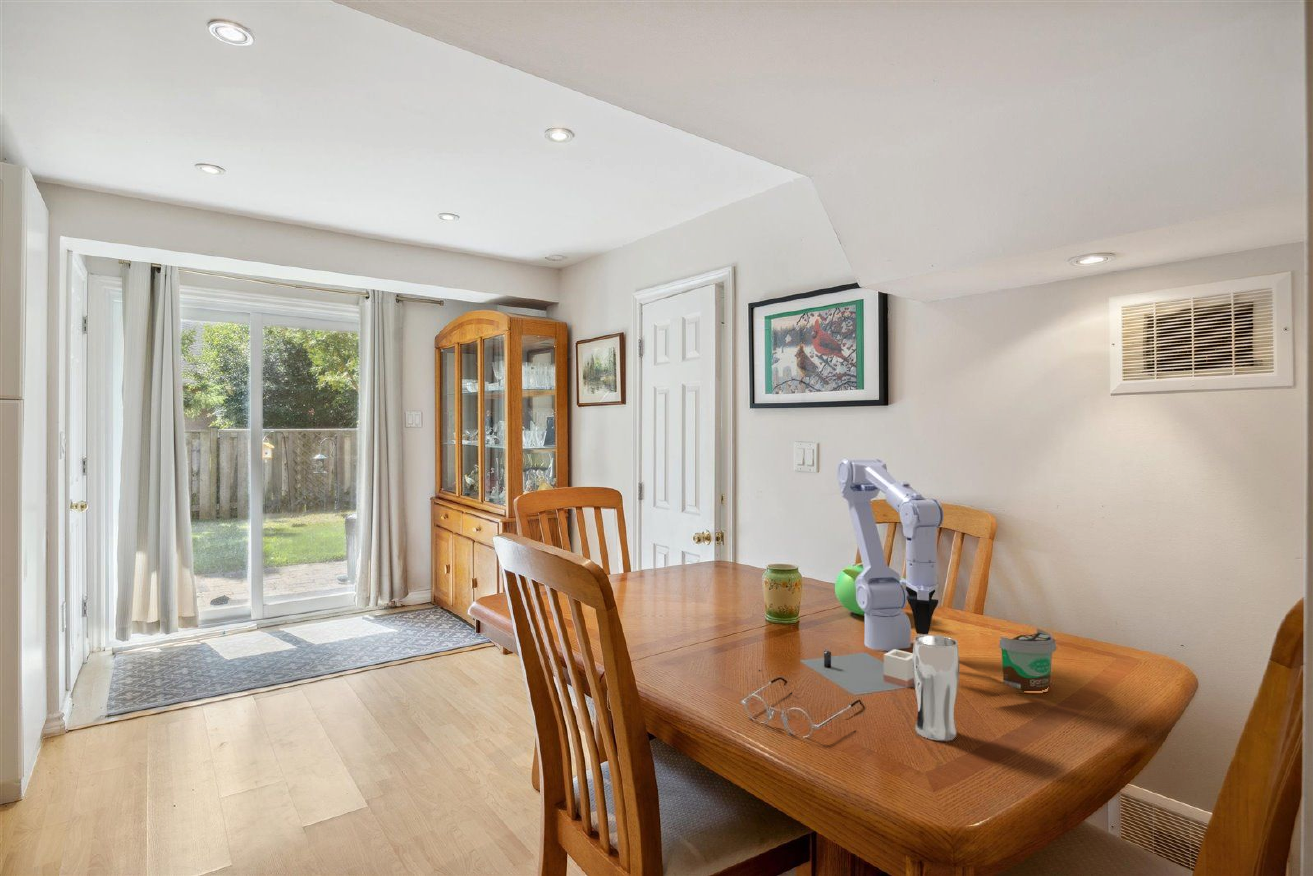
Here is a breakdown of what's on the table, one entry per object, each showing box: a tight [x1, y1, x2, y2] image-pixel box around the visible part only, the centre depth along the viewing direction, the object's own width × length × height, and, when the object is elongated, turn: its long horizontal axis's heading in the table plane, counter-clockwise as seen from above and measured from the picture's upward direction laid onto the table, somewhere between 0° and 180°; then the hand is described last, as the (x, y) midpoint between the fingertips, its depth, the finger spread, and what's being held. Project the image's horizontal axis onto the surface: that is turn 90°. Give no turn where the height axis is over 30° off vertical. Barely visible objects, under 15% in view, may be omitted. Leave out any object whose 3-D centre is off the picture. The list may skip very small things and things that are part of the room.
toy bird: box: [834, 562, 906, 617], centre depth 174 cm, size 18×17×15 cm
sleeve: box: [883, 649, 914, 687], centre depth 123 cm, size 5×5×5 cm
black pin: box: [823, 650, 832, 668], centre depth 131 cm, size 1×1×3 cm
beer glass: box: [912, 633, 960, 742], centre depth 105 cm, size 7×7×15 cm
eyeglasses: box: [740, 676, 862, 739], centre depth 112 cm, size 16×19×5 cm
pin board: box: [798, 652, 915, 696], centre depth 128 cm, size 16×19×2 cm
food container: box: [998, 628, 1057, 692], centre depth 123 cm, size 12×6×10 cm, turn 117°
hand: (921, 628), depth 129 cm, fingers open, 7 cm apart
